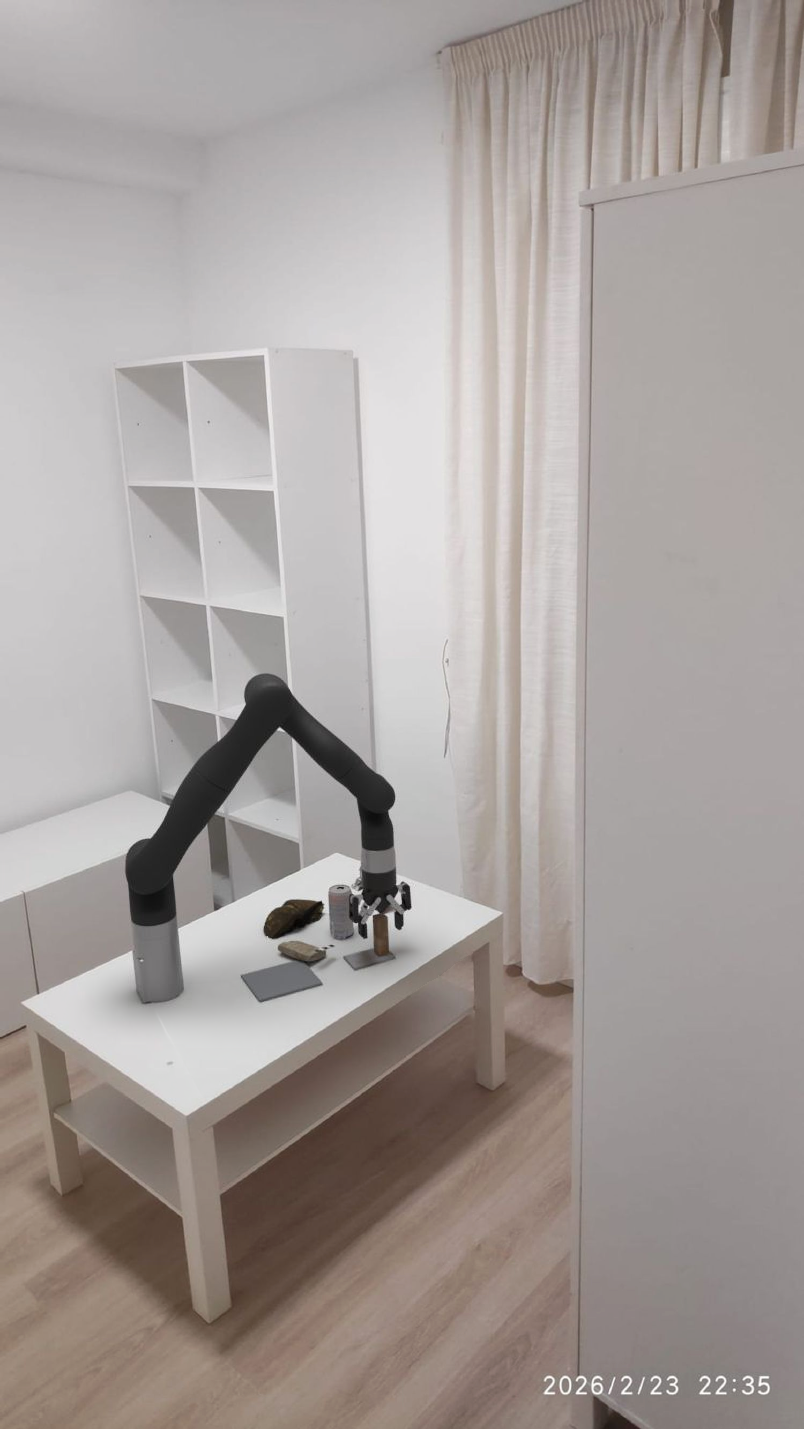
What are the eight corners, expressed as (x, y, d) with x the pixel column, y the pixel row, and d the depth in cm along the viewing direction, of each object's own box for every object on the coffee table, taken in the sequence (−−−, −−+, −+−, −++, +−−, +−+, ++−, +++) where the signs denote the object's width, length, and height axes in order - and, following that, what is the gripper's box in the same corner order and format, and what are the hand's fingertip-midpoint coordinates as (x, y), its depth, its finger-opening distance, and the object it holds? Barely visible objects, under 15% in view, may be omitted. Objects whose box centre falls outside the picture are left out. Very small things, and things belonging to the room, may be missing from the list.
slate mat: (259, 1002, 213) (259, 1000, 213) (240, 977, 223) (240, 975, 223) (322, 984, 219) (322, 982, 219) (301, 961, 229) (301, 959, 229)
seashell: (279, 946, 237) (277, 918, 235) (254, 935, 243) (252, 907, 241) (331, 921, 248) (330, 894, 246) (306, 911, 254) (305, 884, 252)
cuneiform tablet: (318, 951, 224) (277, 937, 231) (317, 968, 224) (276, 954, 231) (335, 945, 229) (295, 932, 236) (334, 962, 229) (294, 948, 236)
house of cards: (363, 907, 256) (362, 878, 254) (342, 896, 262) (340, 868, 260) (391, 896, 261) (390, 868, 259) (370, 886, 268) (369, 858, 266)
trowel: (383, 948, 234) (382, 908, 231) (395, 959, 229) (394, 919, 226) (343, 959, 230) (341, 919, 227) (354, 971, 224) (352, 930, 222)
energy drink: (355, 931, 242) (352, 884, 239) (351, 942, 237) (349, 894, 234) (332, 931, 243) (330, 884, 240) (328, 942, 238) (326, 893, 234)
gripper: (356, 877, 218) (359, 947, 223) (415, 863, 225) (417, 932, 229) (341, 865, 225) (345, 934, 229) (400, 852, 231) (402, 919, 235)
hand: (381, 933), depth 229 cm, fingers open, 8 cm apart
